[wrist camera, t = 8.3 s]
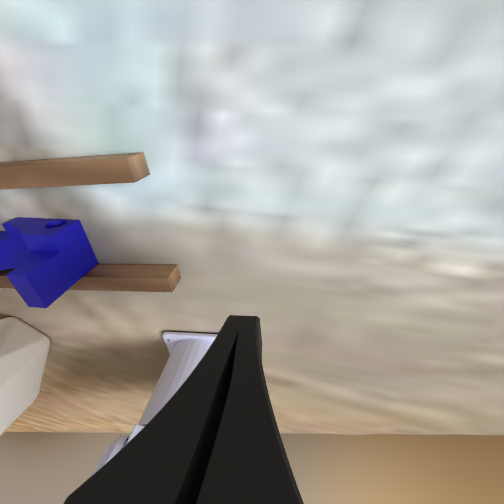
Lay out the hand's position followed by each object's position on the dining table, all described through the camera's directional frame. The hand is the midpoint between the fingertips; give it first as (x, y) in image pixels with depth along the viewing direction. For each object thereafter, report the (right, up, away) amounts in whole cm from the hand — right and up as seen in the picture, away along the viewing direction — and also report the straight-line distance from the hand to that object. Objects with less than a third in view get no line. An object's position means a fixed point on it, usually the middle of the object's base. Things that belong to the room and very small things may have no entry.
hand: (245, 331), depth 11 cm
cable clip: (-20, +5, +12) cm, 24 cm away
